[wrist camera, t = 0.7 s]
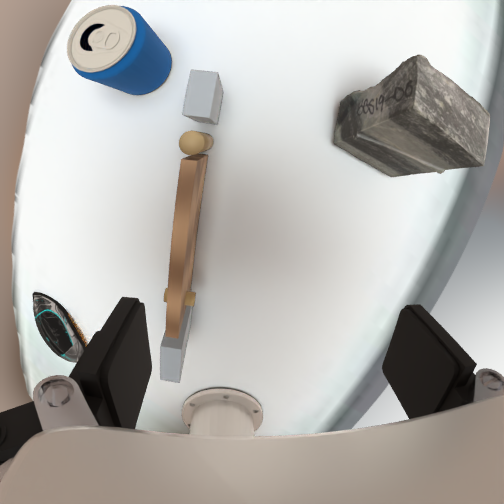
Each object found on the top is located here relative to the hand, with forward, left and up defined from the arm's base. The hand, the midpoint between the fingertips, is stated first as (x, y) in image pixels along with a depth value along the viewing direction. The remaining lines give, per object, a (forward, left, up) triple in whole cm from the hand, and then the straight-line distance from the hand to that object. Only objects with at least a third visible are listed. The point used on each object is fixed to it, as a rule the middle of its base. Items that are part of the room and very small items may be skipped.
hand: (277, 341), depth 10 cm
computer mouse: (-21, +24, -25) cm, 40 cm away
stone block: (+11, -11, -24) cm, 29 cm away
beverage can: (+13, +14, -24) cm, 31 cm away
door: (+6, +6, -24) cm, 25 cm away
